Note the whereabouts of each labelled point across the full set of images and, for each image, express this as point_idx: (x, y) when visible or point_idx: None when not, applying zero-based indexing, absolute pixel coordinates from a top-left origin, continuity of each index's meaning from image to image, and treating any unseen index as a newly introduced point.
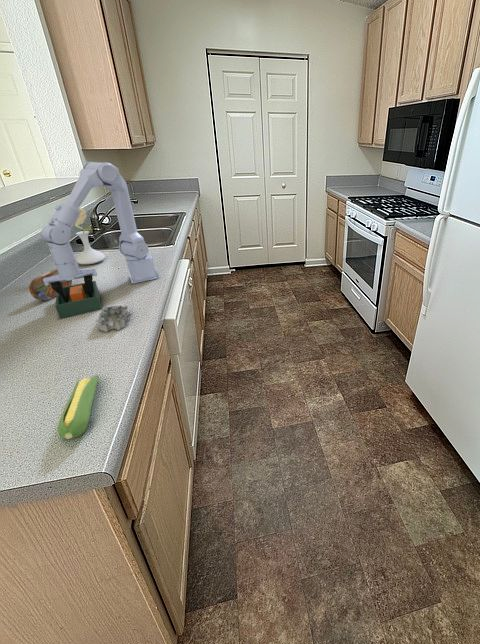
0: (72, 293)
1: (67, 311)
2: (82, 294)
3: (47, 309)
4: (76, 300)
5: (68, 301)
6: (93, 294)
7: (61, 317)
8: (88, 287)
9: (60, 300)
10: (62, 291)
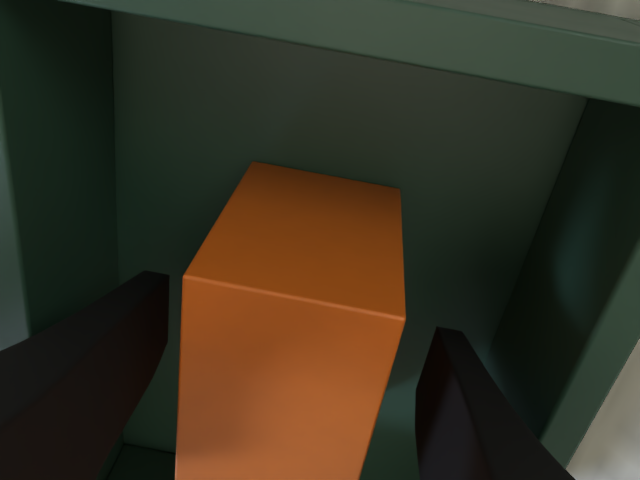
0: (345, 349)
1: (547, 9)
2: (199, 251)
3: (633, 408)
4: (337, 231)
5: (409, 419)
6: (153, 404)
7: (633, 20)
8: (42, 362)
9: (526, 386)
10: (496, 469)
